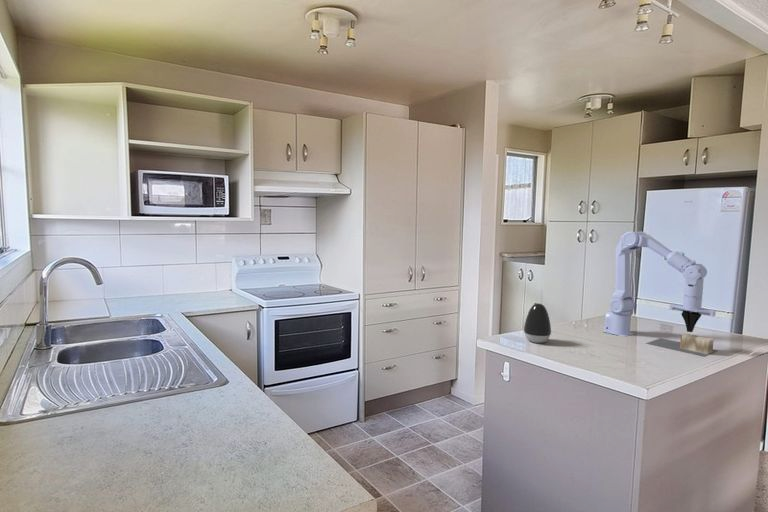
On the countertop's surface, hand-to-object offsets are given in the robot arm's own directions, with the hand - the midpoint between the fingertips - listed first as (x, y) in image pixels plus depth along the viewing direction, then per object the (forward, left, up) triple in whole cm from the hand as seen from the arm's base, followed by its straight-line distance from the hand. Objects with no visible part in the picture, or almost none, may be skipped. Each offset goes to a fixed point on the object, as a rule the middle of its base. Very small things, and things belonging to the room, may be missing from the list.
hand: (689, 331), depth 171 cm
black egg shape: (-39, -40, -7) cm, 56 cm away
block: (-2, 0, -4) cm, 5 cm away
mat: (-2, 0, -7) cm, 7 cm away
